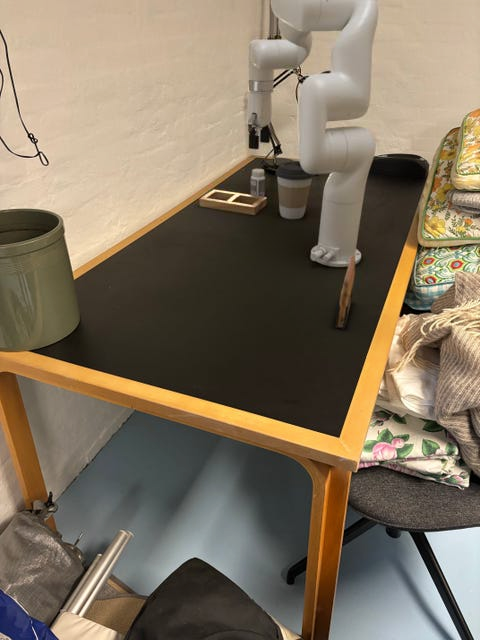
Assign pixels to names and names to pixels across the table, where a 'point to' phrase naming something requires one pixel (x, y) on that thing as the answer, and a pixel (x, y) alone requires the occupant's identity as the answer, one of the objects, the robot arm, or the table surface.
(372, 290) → the table surface
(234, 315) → the table surface
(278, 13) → the robot arm
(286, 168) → the coffee cup
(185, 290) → the table surface
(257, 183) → the pill bottle
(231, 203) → the holder
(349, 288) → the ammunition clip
